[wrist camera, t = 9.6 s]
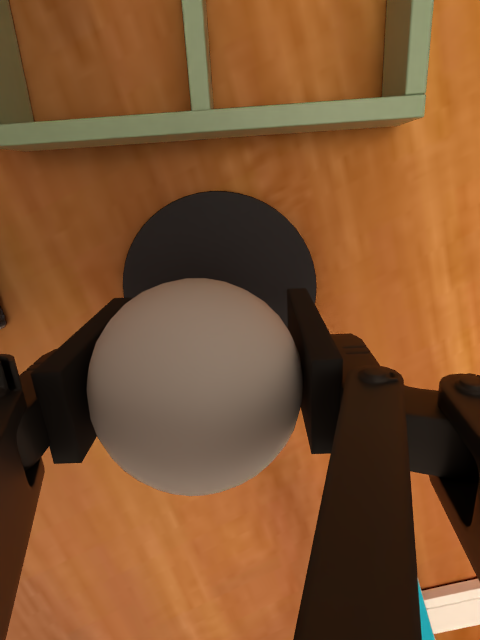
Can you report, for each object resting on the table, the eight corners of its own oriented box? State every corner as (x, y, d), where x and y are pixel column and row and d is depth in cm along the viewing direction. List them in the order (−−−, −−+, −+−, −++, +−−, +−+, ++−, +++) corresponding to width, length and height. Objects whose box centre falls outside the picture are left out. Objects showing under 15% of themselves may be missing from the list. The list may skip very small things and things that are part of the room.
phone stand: (513, 678, 31) (527, 704, 30) (363, 705, 33) (369, 732, 31) (475, 482, 25) (491, 503, 23) (292, 528, 26) (294, 550, 25)
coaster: (109, 197, 20) (107, 198, 19) (315, 184, 19) (317, 184, 19) (139, 379, 23) (137, 383, 23) (315, 371, 23) (316, 374, 22)
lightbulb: (141, 231, 18) (40, 308, 8) (275, 243, 18) (352, 331, 8) (138, 355, 20) (57, 548, 10) (259, 363, 20) (305, 554, 10)
